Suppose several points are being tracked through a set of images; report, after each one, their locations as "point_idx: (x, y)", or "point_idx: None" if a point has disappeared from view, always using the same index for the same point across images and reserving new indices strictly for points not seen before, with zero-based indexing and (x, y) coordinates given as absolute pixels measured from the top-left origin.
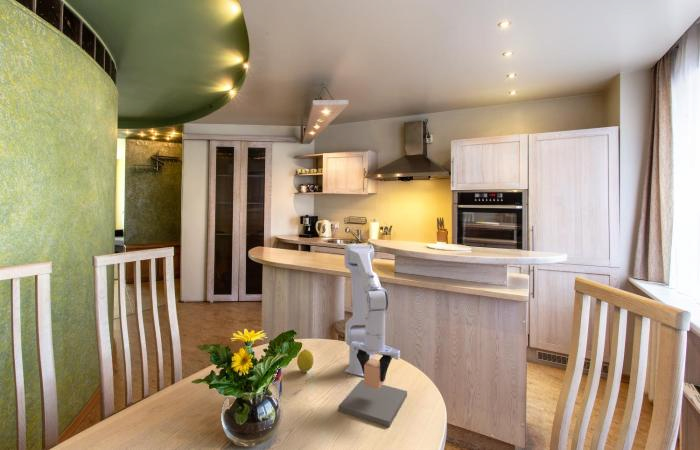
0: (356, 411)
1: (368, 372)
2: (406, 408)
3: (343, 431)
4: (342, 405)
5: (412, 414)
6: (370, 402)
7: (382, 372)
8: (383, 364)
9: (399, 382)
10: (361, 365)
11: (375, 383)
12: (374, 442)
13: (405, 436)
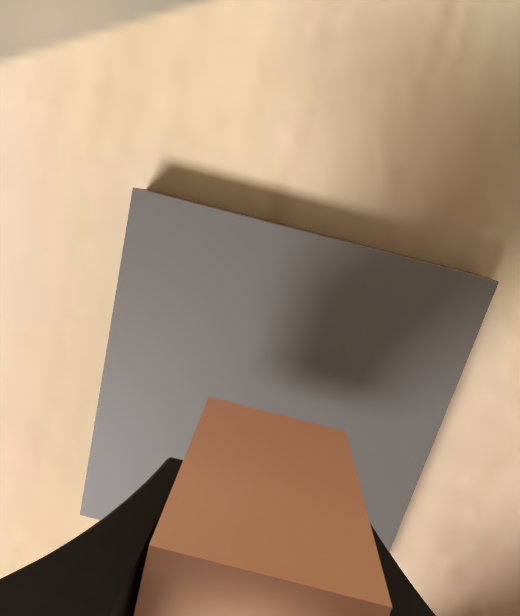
0: (363, 247)
1: (314, 513)
2: (79, 382)
3: (420, 76)
4: (470, 291)
5: (39, 335)
6: (283, 360)
7: (132, 515)
8: (37, 599)
9: None
10: (427, 611)
11: (235, 426)
12: (210, 20)
13: (44, 127)
